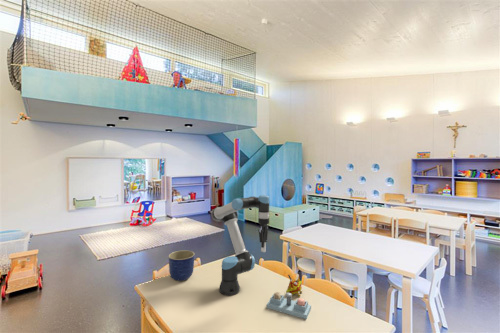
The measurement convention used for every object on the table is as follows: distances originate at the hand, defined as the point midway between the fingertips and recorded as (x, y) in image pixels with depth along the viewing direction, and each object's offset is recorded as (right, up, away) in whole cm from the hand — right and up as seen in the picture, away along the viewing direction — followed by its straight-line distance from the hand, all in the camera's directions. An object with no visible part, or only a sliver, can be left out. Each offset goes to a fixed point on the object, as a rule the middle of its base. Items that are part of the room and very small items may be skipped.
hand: (263, 251), depth 173 cm
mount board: (+16, -33, -12) cm, 38 cm away
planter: (-65, -32, +29) cm, 78 cm away
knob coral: (+23, -32, -16) cm, 43 cm away
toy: (+23, -33, +7) cm, 41 cm away
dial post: (+16, -30, -12) cm, 36 cm away
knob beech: (+9, -32, -9) cm, 35 cm away
